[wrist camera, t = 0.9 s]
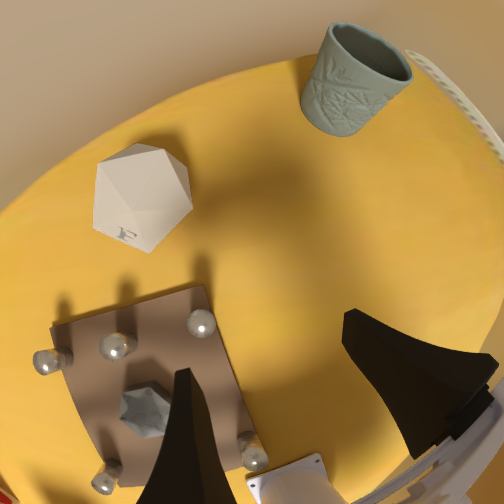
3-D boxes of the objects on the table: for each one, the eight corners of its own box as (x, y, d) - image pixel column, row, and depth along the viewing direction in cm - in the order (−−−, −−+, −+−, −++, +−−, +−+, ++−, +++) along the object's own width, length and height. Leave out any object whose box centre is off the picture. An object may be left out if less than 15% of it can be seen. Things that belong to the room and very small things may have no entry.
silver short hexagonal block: (186, 420, 20) (184, 430, 18) (135, 430, 19) (129, 440, 17) (168, 376, 21) (163, 383, 18) (117, 388, 20) (108, 395, 17)
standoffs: (261, 444, 20) (271, 466, 16) (110, 473, 17) (98, 494, 13) (210, 306, 23) (210, 305, 18) (54, 348, 19) (30, 352, 15)
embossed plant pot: (320, 78, 32) (352, 17, 21) (376, 122, 32) (422, 68, 20) (279, 106, 29) (309, 29, 18) (345, 158, 29) (401, 94, 18)
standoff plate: (266, 455, 21) (267, 458, 20) (121, 484, 17) (119, 487, 17) (203, 285, 24) (202, 284, 23) (52, 327, 20) (49, 327, 19)
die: (96, 206, 24) (61, 242, 16) (131, 128, 22) (106, 125, 13) (165, 238, 27) (161, 286, 19) (204, 164, 25) (217, 179, 17)
